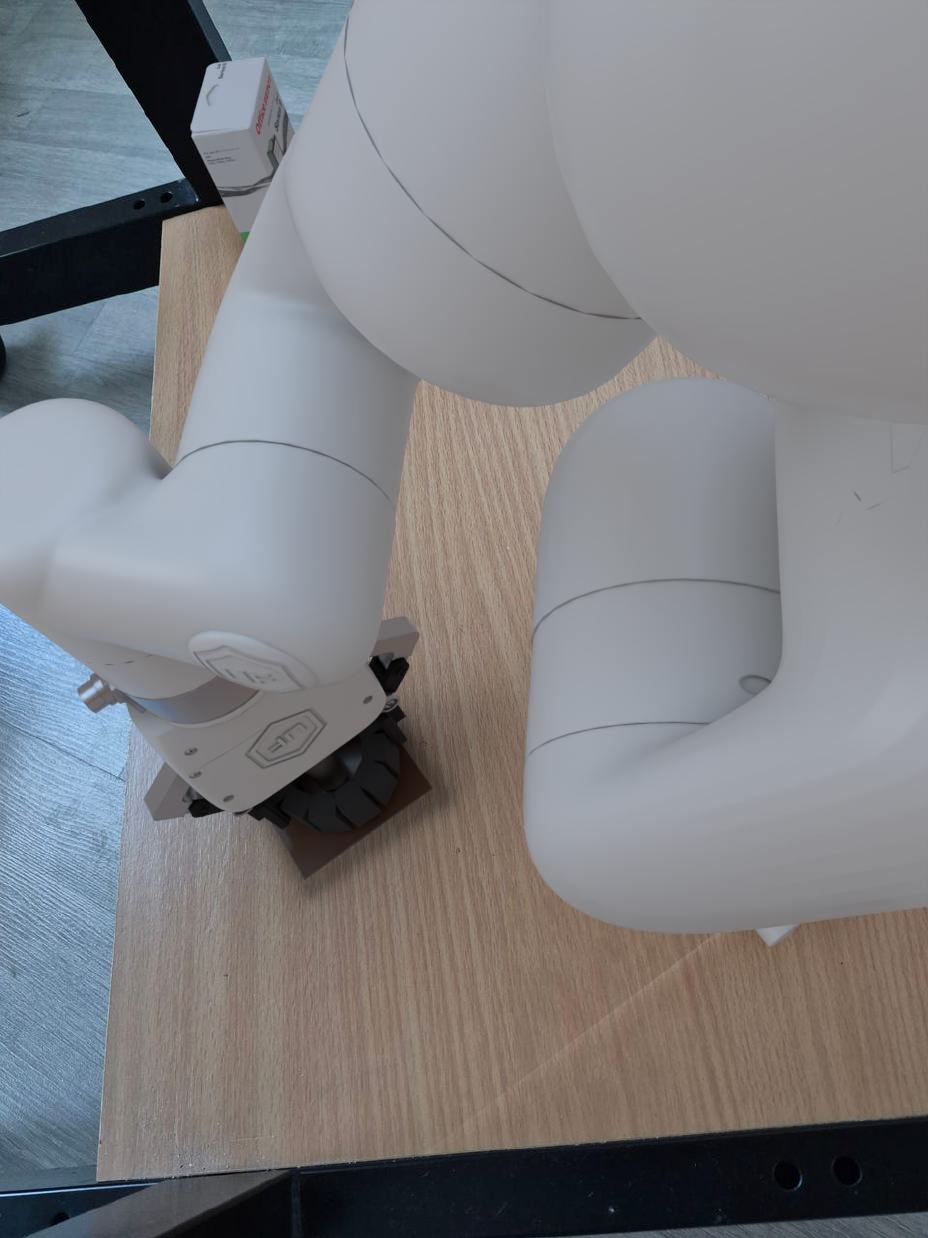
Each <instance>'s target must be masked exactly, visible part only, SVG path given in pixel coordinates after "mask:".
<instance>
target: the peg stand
mask: <svg viewBox="0 0 928 1238" xmlns="http://www.w3.org/2000/svg"><path fill="white" fill-rule="evenodd" d="M395 746H396V747H397V748H398V749H399V754H400V775H398V776H394V777H395V779H396V780H397V781H398V784H397V786H396V788H395V790H394V792H393V794H392V796H391V798H390V800H389V802H388V804H387V805H386V806H384V805H382V804H380V803H377V802H376V803H377V805H378V806H379V808H380V809H381V812H380V813H379V814H378V815H376V816H375V817H373V818H372V819H371V820H369V821H368V822H367V823H365V824H364V825H362V826H361V827H358V826H356V825H355V824H354V823H353V830H352V831H345V832H337V833H329V834H327V833H325V832H324V831H323V830H322V831H321V832H317V831H315V830H313V829H311V828H309V827H307V826H305V825H303V824H301V823H299V822H297V821H296V820H294V819H293V818H292V817H290V818H291V821H290V822H289V823H290V825H288V826H287V827H285V828H284V829H283V830H282V829H280V828H279V827H277V826H276V825H274V824H273V823H272V822H270V823H271V824H272V826H273V828H274V829H275V832H276V833H277V835H278V837H279V838H280V840H281V842H282V843H283V846H284V848H285V849H286V850H287V852H288V854H289V856H290V858H291V859H292V861H293V863H294V865H295V866H296V868H297V870H298V872H299V873H300V875H301V876H302V879H303V880H306V879H309V878H310V877H311V876H313V875H314V874H315V873H317V872H318V871H319V870H321V869H322V868H323V867H326V866H327V865H328V864H329V863H331V862H332V861H334V860H335V859H336V858H338V857H339V856H341V855H343V854H344V853H345V852H347V851H348V850H349V849H350V848H352V847H353V846H355V845H356V844H357V843H359V842H361V841H362V840H363V839H364V838H366V837H367V836H369V835H370V834H371V833H373V832H374V831H376V830H377V829H379V828H380V827H381V826H383V825H385V823H387V822H388V821H390V820H391V819H393V818H394V817H396V816H397V815H398V814H399V813H401V812H403V811H404V810H405V809H406V808H408V807H409V806H411V805H413V804H414V803H415V802H417V801H418V800H419V799H421V798H422V797H424V796H425V795H426V794H428V793H430V792H431V791H432V790H433V789H434V788H433V786H432V785H431V783H430V782H429V780H428V779H427V777H426V775H425V774H424V773H423V770H421V768H420V767H419V766H418V764H417V762H416V760H414V758H413V757H412V755H411V754H410V752H409V751H408V749H407V748H406V747H405V745H404V743H403V744H401V745H400V743H399V744H397V745H395ZM361 760H362V740H361V738H360V737H359V736H357V735H356V736H354V737H353V738H352V739H350V740H349V741H347V742H346V743H345V744H343V745H342V746H341V747H339V748H338V749H336V750H335V751H334V752H332V753H331V754H330V755H328V756H327V757H325V758H324V759H323V760H321V761H320V762H318V763H317V764H316V765H314V766H313V767H311V768H310V769H309V770H307V771H306V772H304V773H303V774H302V786H303V788H304V789H305V791H306V793H308V794H310V795H318V794H326V793H333V792H334V791H336V790H337V789H339V788H340V787H341V786H343V785H344V784H346V783H347V782H348V781H350V780H351V779H352V777H353V775H354V773H355V771H356V769H357V768H358V766H359V764H360V762H361Z"/></svg>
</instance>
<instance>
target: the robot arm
mask: <svg viewBox="0 0 928 1238" xmlns="http://www.w3.org/2000/svg"><path fill="white" fill-rule="evenodd" d="M336 40H337V41H336V43H335V45H334V48H333V50H332V53H331V55H330V56H329V60H328V62H327V64H326V67H325V70H324V71H323V74H322V76H321V78H320V80H319V82H318V85H317V87H316V89H315V91H314V92H313V95H312V98H311V100H310V102H309V104H308V106H307V108H306V110H305V112H304V115H303V118H302V119H301V123H300V124H299V127H298V128H297V130H296V131H295V134H294V135H293V138H292V140H291V143H290V145H289V148H288V149H287V151H286V153H285V155H284V156H283V158H282V160H281V162H280V164H279V167H278V169H277V171H276V173H275V175H274V177H273V180H272V182H271V184H270V186H269V188H268V191H267V193H266V195H265V198H264V200H263V202H262V204H261V207H260V209H259V212H258V214H257V217H256V219H255V222H254V224H253V226H252V228H251V231H250V233H249V236H248V238H247V241H246V243H245V244H244V245H243V248H242V250H241V253H240V255H239V257H238V260H237V263H236V265H235V267H234V270H233V272H232V275H231V277H230V280H229V282H228V284H227V286H226V289H225V291H224V294H223V297H222V300H221V301H220V304H219V307H218V310H217V313H216V315H215V318H214V321H213V323H212V327H211V330H210V333H209V336H208V340H207V343H206V346H205V350H204V353H203V357H202V360H201V365H200V368H199V370H198V374H197V378H196V381H195V383H194V388H193V391H192V393H191V398H190V403H189V407H188V411H187V414H186V418H185V420H184V421H185V422H184V426H183V429H182V432H181V436H180V440H179V444H178V447H177V452H176V456H175V460H174V463H173V466H171V465H170V463H169V461H167V460H166V459H165V458H164V456H163V455H162V453H160V451H159V450H158V449H157V447H156V446H155V445H154V444H153V443H152V442H151V440H150V439H149V438H148V437H147V435H145V434H144V432H143V431H142V430H141V429H140V428H139V427H138V426H137V425H136V424H135V423H134V422H132V421H131V420H130V419H129V418H128V417H126V416H125V415H123V414H122V413H121V412H119V411H117V410H115V409H113V408H111V407H109V406H107V405H105V404H102V403H99V402H98V401H93V400H89V399H84V398H71V397H59V398H50V399H49V398H48V399H44V400H41V401H37V402H34V403H30V404H27V405H25V406H22V407H20V408H18V409H16V410H14V411H12V412H10V413H8V414H5V415H4V416H2V417H1V418H0V605H1V606H3V607H4V608H5V609H7V610H8V611H10V612H11V613H12V614H14V615H15V616H16V617H18V618H19V619H20V620H22V621H23V622H25V623H26V624H27V625H29V626H30V627H32V628H33V629H34V630H36V631H37V632H38V633H39V634H40V635H42V636H44V637H45V638H46V639H48V640H49V641H50V642H52V643H53V644H55V645H56V646H57V647H59V648H60V649H62V650H63V651H64V652H66V653H67V654H69V655H70V657H72V658H73V659H75V660H77V661H78V662H79V663H80V664H82V665H83V666H85V667H86V668H88V669H89V670H90V671H92V672H93V673H92V674H90V675H89V680H87V681H86V682H84V683H83V684H81V685H80V686H78V687H77V689H76V692H77V694H78V697H79V698H80V699H81V702H83V704H85V706H86V707H87V708H88V709H89V710H90V711H91V712H92V713H93V714H98V713H99V712H101V711H102V710H104V709H105V708H107V707H108V706H115V705H117V704H118V703H119V704H120V705H121V704H125V705H126V708H127V713H128V715H129V717H130V719H131V721H132V723H133V724H134V726H135V728H136V729H137V731H138V732H139V733H140V735H141V736H142V738H143V739H144V740H145V741H146V742H147V744H148V745H149V746H150V747H151V748H152V750H153V751H154V752H155V753H156V754H157V755H158V756H159V757H160V758H161V759H162V760H163V761H164V762H163V763H162V765H161V767H160V769H159V771H158V772H157V775H156V777H155V778H154V780H153V782H152V783H151V785H150V787H149V789H148V790H147V793H146V794H145V796H144V798H143V802H144V805H145V806H146V808H147V810H148V813H149V814H150V816H151V818H152V820H153V821H155V822H159V821H166V820H172V819H178V818H184V817H185V816H186V815H189V814H190V815H191V817H192V818H193V819H198V818H205V817H206V816H211V815H215V814H218V813H223V812H231V815H232V816H233V817H236V818H238V817H239V818H240V817H242V816H245V815H248V816H250V817H251V818H253V819H254V820H255V821H257V822H261V821H262V820H264V819H266V820H267V821H269V822H270V823H271V822H272V823H273V824H274V825H276V826H277V827H279V828H280V829H282V830H283V829H284V828H285V827H287V826H288V825H290V823H289V822H290V821H291V818H290V816H289V815H288V814H286V813H285V812H283V811H282V810H281V809H280V807H279V806H278V805H276V804H275V803H274V801H273V799H272V797H271V795H273V794H274V793H276V792H277V791H279V790H280V789H281V788H283V787H284V786H286V785H287V784H289V783H290V782H291V781H293V780H294V779H296V778H297V777H299V776H300V775H301V774H303V773H304V772H306V771H307V770H309V769H310V768H311V767H313V766H314V765H316V764H317V763H318V762H320V761H321V760H323V759H324V758H325V757H327V756H328V755H330V754H331V753H332V752H334V751H335V750H336V749H338V748H339V747H341V746H342V745H343V744H345V743H346V742H347V741H349V740H350V739H352V738H353V737H354V736H356V735H357V734H358V733H360V732H361V731H362V730H364V729H365V728H366V727H367V726H369V725H370V724H371V723H372V722H373V721H374V720H375V719H376V721H377V722H378V724H379V725H380V726H381V727H382V728H383V730H384V731H385V732H386V733H387V734H388V736H389V737H390V738H391V739H392V740H393V741H394V743H395V744H396V745H397V744H399V743H400V745H401V744H403V745H404V743H405V742H407V741H408V737H407V736H406V735H405V733H404V732H403V730H402V729H401V727H400V726H399V724H398V723H399V722H400V721H402V720H403V719H405V718H406V717H407V715H406V713H405V712H404V711H403V709H402V708H401V706H400V705H399V704H400V698H399V696H398V695H397V693H396V692H397V691H398V689H399V687H400V685H401V683H402V682H403V680H404V678H405V677H406V675H407V673H408V671H409V669H410V663H409V662H408V659H409V658H410V657H411V656H412V655H413V653H414V650H415V647H416V645H417V643H418V640H419V638H420V633H419V631H418V630H417V629H416V627H415V625H413V622H412V621H411V620H410V619H409V617H407V616H405V615H403V616H397V617H393V618H389V619H385V620H382V619H383V612H384V606H385V599H386V592H387V586H388V579H389V573H390V565H391V557H392V551H393V544H394V537H395V531H396V524H397V520H396V518H397V512H398V511H397V510H398V503H399V497H400V496H399V495H400V488H401V481H402V475H403V469H404V463H405V456H406V450H407V443H408V438H409V433H410V432H409V431H410V426H411V421H412V415H413V409H414V403H415V397H416V393H417V391H418V387H419V385H420V382H421V380H422V381H424V382H426V383H429V384H431V385H433V386H435V387H437V388H439V389H441V390H443V391H446V392H448V393H450V394H453V395H456V396H459V397H462V398H464V399H468V400H470V401H474V402H479V403H483V404H487V405H493V406H501V407H508V408H509V407H510V408H540V407H546V406H553V405H557V404H559V403H565V402H567V401H571V400H575V399H578V398H580V397H584V396H586V395H587V394H590V393H592V392H593V391H595V390H597V389H599V388H600V387H602V386H603V385H605V384H606V383H608V382H610V381H611V380H612V379H614V378H615V377H616V376H617V375H618V374H619V373H620V372H621V371H622V370H623V369H625V368H626V367H627V366H628V365H629V364H630V363H631V362H633V361H634V360H635V358H636V357H638V356H639V355H640V354H641V353H642V352H643V351H644V350H646V348H647V347H648V346H649V345H650V344H651V343H652V342H653V341H654V340H655V339H656V338H657V337H658V336H660V337H661V338H662V339H663V340H665V341H666V342H667V343H668V344H669V345H670V346H672V348H674V349H675V350H676V351H677V352H678V353H680V354H681V355H683V356H684V357H685V358H687V359H688V360H690V361H691V362H693V363H694V364H696V365H697V366H699V367H700V368H701V369H703V370H704V371H707V372H710V373H711V374H714V375H716V376H719V377H721V378H724V379H720V378H713V377H706V376H675V377H667V378H666V377H665V378H661V379H656V380H653V381H648V382H644V383H642V384H639V385H636V386H634V387H631V388H629V389H626V390H624V391H623V392H621V393H619V394H617V395H615V396H613V397H612V398H610V399H608V400H607V401H605V402H604V403H602V404H601V405H599V406H598V407H597V408H596V409H595V410H593V411H592V412H591V413H590V414H589V415H588V416H587V417H586V418H585V419H584V420H583V421H582V422H581V423H580V424H579V426H577V428H576V429H575V430H574V431H573V433H571V436H569V438H568V440H567V441H566V442H565V444H564V445H563V446H562V449H561V450H560V453H559V454H558V457H557V459H556V460H555V463H554V466H553V468H552V471H551V473H550V475H549V478H548V482H547V486H546V490H545V493H544V498H543V504H542V510H541V515H540V524H539V531H538V542H537V555H536V567H535V580H534V581H535V582H534V593H533V594H534V595H533V608H532V609H533V610H532V622H531V633H530V634H531V635H530V642H531V650H532V651H531V653H532V654H531V663H530V664H531V665H530V666H531V667H530V681H529V695H528V707H527V720H526V721H527V722H526V724H527V725H526V734H525V735H526V736H525V748H524V749H525V750H524V765H523V784H522V785H523V786H522V789H523V790H522V792H523V793H522V816H523V817H522V818H523V830H524V836H525V842H526V845H527V849H528V853H529V855H530V858H531V860H532V862H533V865H534V867H535V869H536V871H537V872H538V873H539V875H540V877H541V878H542V880H543V881H544V882H545V883H546V885H547V886H548V887H549V889H551V890H552V892H554V893H555V894H556V895H557V897H559V898H560V899H561V900H562V901H563V902H565V903H566V904H568V905H569V906H571V907H572V908H573V909H576V910H577V911H579V912H580V913H582V914H584V915H586V916H588V917H590V918H593V919H594V920H597V921H600V922H603V923H606V924H609V925H611V926H615V927H619V928H623V929H627V930H632V931H633V930H634V931H640V932H646V933H647V932H648V933H655V934H667V935H708V934H722V933H730V932H732V933H733V932H742V931H751V930H754V931H755V932H756V933H757V935H758V936H759V937H760V938H761V940H762V941H763V942H764V943H765V944H766V946H767V947H768V948H769V949H772V948H773V947H774V946H776V945H778V944H779V943H780V942H782V941H783V940H784V939H786V938H788V937H789V936H790V935H791V934H792V933H793V932H795V930H796V929H798V928H799V927H800V925H801V924H807V923H814V922H815V923H816V922H822V921H823V922H824V921H830V920H837V919H844V918H846V919H847V918H852V917H860V916H868V915H875V914H876V915H877V914H883V913H891V912H897V911H906V910H907V911H908V910H915V909H921V908H928V0H353V1H352V4H351V6H350V9H349V11H348V14H347V16H346V18H345V21H344V23H343V26H342V28H341V31H340V33H339V36H338V38H337V39H336ZM725 379H726V380H725ZM770 398H772V399H773V400H774V401H773V400H772V399H770ZM370 658H371V659H370ZM369 659H370V661H369ZM272 823H271V824H272ZM273 824H272V825H273Z"/></svg>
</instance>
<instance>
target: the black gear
mask: <svg viewBox="0 0 928 1238" xmlns="http://www.w3.org/2000/svg"><path fill="white" fill-rule="evenodd" d="M357 736H359V737H360V738H361V740H362V760H361V762H360V764H359V766H358V768H357V769H356V771H355V773H354V775H353V777H352V779H351V780H350V781H348V782H347V783H346V784H344V785H343V786H341V787H340V788H339V789H337V790H336V791H334V792H333V793H326V794H318V795H310V794H308V793H306V791H305V789H304V788H303V786H302V774H301V775H300V776H299V777H297V778H296V779H294V780H293V781H291V782H290V783H289V784H287V785H286V786H284V787H283V788H281V789H280V790H279V791H277V792H276V793H274V794H273V795H271V797H272V799H273V801H274V803H275V804H276V805H278V806H279V807H280V809H281V810H282V811H283V812H285V813H286V814H288V815H289V816H290V817H292V818H293V819H294V820H296V821H297V822H299V823H301V824H303V825H305V826H307V827H309V828H311V829H313V830H315V831H317V832H321V831H322V830H323V831H324V832H325V833H327V834H329V833H337V832H345V831H352V830H353V823H354V824H355V825H356V826H358V827H361V826H362V825H364V824H365V823H367V822H368V821H369V820H371V819H372V818H373V817H375V816H376V815H378V814H379V813H380V812H381V809H380V808H379V806H378V805H377V803H380V804H382V805H384V806H386V805H387V804H388V802H389V800H390V798H391V796H392V794H393V792H394V790H395V788H396V786H397V784H398V781H397V780H396V779H395V777H394V776H398V775H400V754H399V749H398V748H397V747H396V746H395V745H396V744H395V743H394V741H393V740H392V739H391V738H390V737H389V736H388V734H387V733H386V732H385V731H384V730H383V728H382V727H381V726H380V725H379V724H378V722H377V721H376V719H375V720H374V721H373V722H372V723H371V724H370V725H369V726H367V727H366V728H365V729H364V730H362V731H361V732H360V733H358V734H357ZM376 802H377V803H376Z"/></svg>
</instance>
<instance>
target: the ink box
mask: <svg viewBox="0 0 928 1238" xmlns="http://www.w3.org/2000/svg"><path fill="white" fill-rule="evenodd" d="M190 131H191V138H192V141H193V142H194V144H195V146H196V149H197V151H198V153H199V155H200V156H201V157H200V158H201V159H202V161H203V163H204V165H205V167H206V169H207V171H208V173H209V175H210V177H211V179H212V181H213V183H214V185H215V187H216V189H217V191H218V193H219V195H220V197H221V199H222V201H223V204H224V205H225V207H226V209H227V212H228V214H229V216H230V218H231V221H233V224H234V226H235V228H236V230H237V232H238V234H239V235H240V238H241V239H242V242H243V244H244V245H245V243H246V241H247V238H248V236H249V233H250V231H251V228H252V226H253V224H254V222H255V219H256V217H257V214H258V212H259V209H260V207H261V204H262V202H263V200H264V198H265V195H266V193H267V191H268V188H269V186H270V184H271V182H272V180H273V177H274V175H275V173H276V171H277V169H278V167H279V164H280V162H281V160H282V158H283V156H284V155H285V153H286V151H287V149H288V148H289V145H290V143H291V140H292V138H293V135H294V134H295V133H296V131H295V130H294V127H293V125H292V122H291V120H290V117H289V115H288V112H287V109H286V107H285V104H284V101H283V99H282V96H281V93H280V92H279V89H278V86H277V84H276V81H275V78H274V76H273V73H272V70H271V68H270V65H269V63H268V60H267V57H266V56H259V57H251V58H244V59H243V58H242V59H237V60H227V61H221V62H214V63H211V64H209V65H208V66H207V67H206V69H205V74H204V77H203V81H202V86H201V88H200V92H199V95H198V98H197V102H196V106H195V109H194V112H193V117H192V120H191V123H190Z"/></svg>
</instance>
